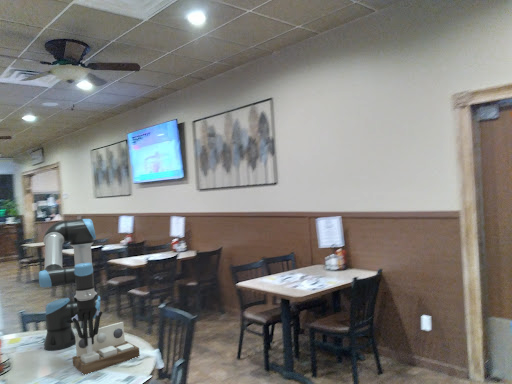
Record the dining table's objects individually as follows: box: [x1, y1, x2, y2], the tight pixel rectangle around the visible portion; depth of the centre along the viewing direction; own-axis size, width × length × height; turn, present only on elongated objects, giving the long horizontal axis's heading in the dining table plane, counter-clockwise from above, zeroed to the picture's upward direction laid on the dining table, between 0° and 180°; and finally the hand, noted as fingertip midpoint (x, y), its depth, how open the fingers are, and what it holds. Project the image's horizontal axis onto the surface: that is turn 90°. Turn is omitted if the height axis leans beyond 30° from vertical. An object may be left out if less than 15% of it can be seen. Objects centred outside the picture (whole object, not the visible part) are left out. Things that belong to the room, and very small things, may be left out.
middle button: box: [99, 346, 117, 358], centre depth 185 cm, size 6×6×3 cm
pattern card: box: [74, 321, 126, 357], centre depth 191 cm, size 2×22×10 cm, turn 131°
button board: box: [71, 340, 141, 376], centre depth 187 cm, size 15×25×4 cm, turn 131°
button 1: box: [81, 351, 99, 364], centre depth 180 cm, size 6×6×3 cm
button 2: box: [116, 342, 135, 352], centre depth 190 cm, size 6×6×3 cm
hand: (89, 352), depth 180 cm, fingers closed
